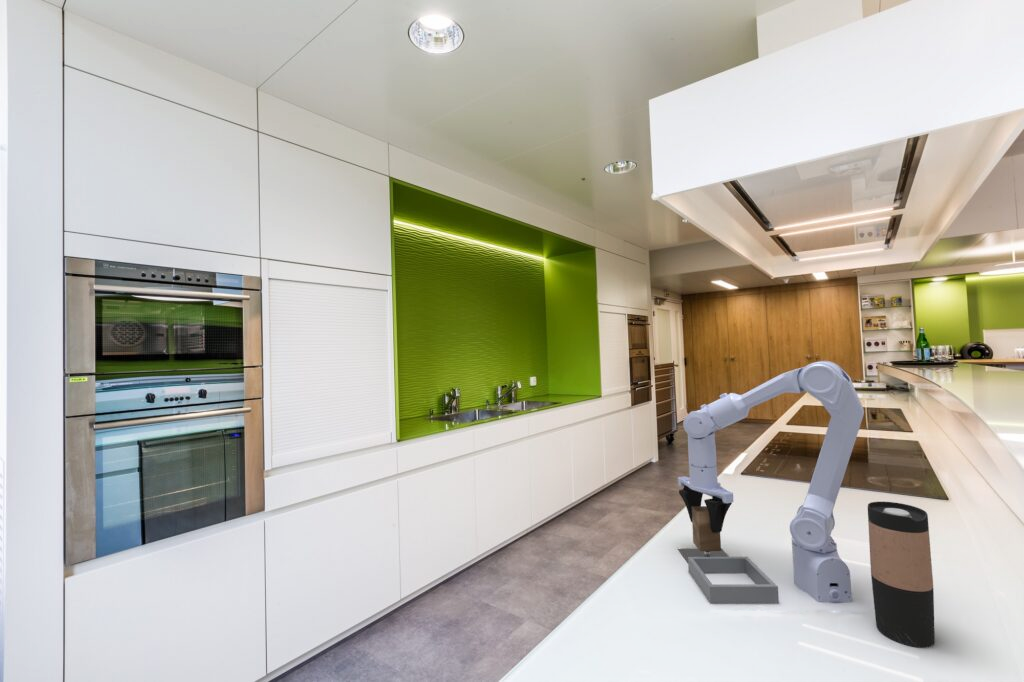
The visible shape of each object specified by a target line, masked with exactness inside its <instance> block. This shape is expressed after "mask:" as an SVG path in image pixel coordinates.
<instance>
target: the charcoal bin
mask: <svg viewBox="0 0 1024 682" xmlns="http://www.w3.org/2000/svg"><path fill="white" fill-rule="evenodd" d="M687 565H688V566H687V567H688V573H689V575H690V576H691V578H692V579H693V580H694V582H695V583H696V585H697V586H698V588H699V589H700V591H701V593H703V595H704V596H705V598H706V599H707V601H708V603H709V604H710V605H771V604H772V605H777V604H778V605H779V604H780V601H779V600H780V598H779V586H778V585H777V584H776V583H775V582H774V581H773V580H772V579H771V578H770V577H769V576H768V575H766V573H765V572H764V571H763V570H762V569H761V568H759V566H758V565H757V564H755V562H754V561H753V560H751V558H749V557H748V556H729V557H688V563H687ZM707 574H710V575H711V574H712V575H713V574H716V575H717V574H718V575H720V574H721V575H722V574H724V575H725V574H745V575H746V576H748V578H749V579H751V581H752V582H753V583H754V584H749V583H748V584H745V583H744V584H739V583H738V584H736V583H735V584H732V583H731V584H729V583H728V584H726V583H725V584H717V583H716V584H712V582H711V580H710V578H708V577H707Z"/></svg>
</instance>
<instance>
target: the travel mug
mask: <svg viewBox="0 0 1024 682" xmlns="http://www.w3.org/2000/svg"><path fill="white" fill-rule="evenodd" d="M867 519H868V520H867V523H868V540H869V541H868V543H869V560H870V562H869V563H870V564H869V565H870V576H871V586H872V597H873V605H874V606H873V608H874V616H875V625H876V628H877V630H878V631H879V632H880V633H881V634H882V635H883V636H885V638H886V637H887V638H888V639H890V640H892V641H894V642H897V643H899V644H902V645H905V646H908V647H913V648H922V649H925V648H930V647H933V646H934V645H935V639H936V637H935V636H936V635H935V633H936V632H935V629H936V628H935V600H934V599H935V597H934V596H935V595H934V592H935V591H934V580H933V579H934V577H933V566H932V556H931V554H932V551H931V542H930V529H929V528H930V527H929V516H928V513H927V511H925V510H924V509H923V508H921V507H917V506H914V505H909V504H906V503H905V504H904V503H902V502H901V503H900V502H894V501H893V502H892V501H871V502H869V503H867Z"/></svg>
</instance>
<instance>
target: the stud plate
mask: <svg viewBox="0 0 1024 682" xmlns="http://www.w3.org/2000/svg"><path fill="white" fill-rule="evenodd" d="M677 551H678V552H679V554H680V555H681V556H682V557H683V559H684V561H685V562H686V564H688V557H730V556H729V554H727V552H726V551H724V550H723V548H722V547H721V551H700V550H699V549H698V548H677Z"/></svg>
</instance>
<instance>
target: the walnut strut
mask: <svg viewBox="0 0 1024 682" xmlns="http://www.w3.org/2000/svg"><path fill="white" fill-rule="evenodd" d="M691 523H692V524H691V525H692V542H693V544H694V545H695V547H696V549H699V550H700V551H721V548H722V546H721V545H722V544H721V543H722V542H721V540H722V539H721V532H717V533H713V532H712V530H711V525H710V517H709V512H708V509H707V506H706V505H705V506H703V505H701V506H692V522H691Z"/></svg>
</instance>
